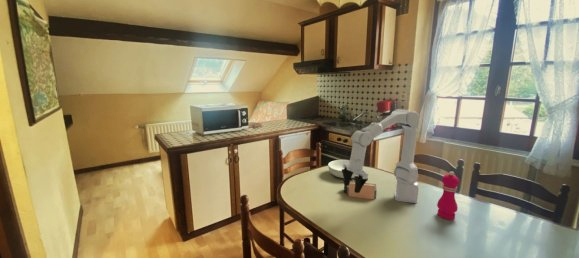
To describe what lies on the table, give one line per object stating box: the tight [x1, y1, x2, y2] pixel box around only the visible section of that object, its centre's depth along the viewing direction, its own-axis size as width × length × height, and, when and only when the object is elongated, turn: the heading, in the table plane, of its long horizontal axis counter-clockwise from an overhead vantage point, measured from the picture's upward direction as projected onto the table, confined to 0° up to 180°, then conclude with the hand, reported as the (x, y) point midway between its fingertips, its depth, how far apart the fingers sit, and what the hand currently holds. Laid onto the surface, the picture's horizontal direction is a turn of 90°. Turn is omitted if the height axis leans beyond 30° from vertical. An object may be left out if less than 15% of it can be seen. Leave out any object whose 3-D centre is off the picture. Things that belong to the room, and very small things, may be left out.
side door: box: [348, 183, 375, 201], centre depth 118 cm, size 12×1×7 cm, turn 73°
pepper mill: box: [436, 171, 460, 221], centre depth 101 cm, size 7×7×20 cm
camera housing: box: [343, 180, 378, 200], centre depth 123 cm, size 16×8×5 cm, turn 73°
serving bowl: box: [327, 159, 364, 179], centre depth 147 cm, size 21×21×7 cm
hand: (351, 188), depth 105 cm, fingers open, 7 cm apart
